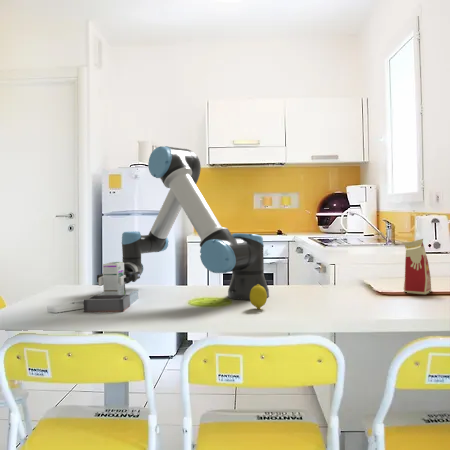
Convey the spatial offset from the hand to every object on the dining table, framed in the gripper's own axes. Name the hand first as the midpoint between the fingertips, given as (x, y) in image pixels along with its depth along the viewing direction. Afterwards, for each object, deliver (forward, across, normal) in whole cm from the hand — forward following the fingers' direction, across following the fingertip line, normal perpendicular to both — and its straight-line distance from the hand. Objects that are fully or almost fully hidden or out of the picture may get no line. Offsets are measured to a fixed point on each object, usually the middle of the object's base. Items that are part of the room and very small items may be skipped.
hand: (110, 281), depth 168 cm
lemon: (+7, -50, -9) cm, 51 cm away
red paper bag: (-21, -110, -9) cm, 112 cm away
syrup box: (-5, 0, -9) cm, 10 cm away
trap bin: (+4, 0, -8) cm, 10 cm away
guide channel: (-8, 0, -8) cm, 11 cm away
